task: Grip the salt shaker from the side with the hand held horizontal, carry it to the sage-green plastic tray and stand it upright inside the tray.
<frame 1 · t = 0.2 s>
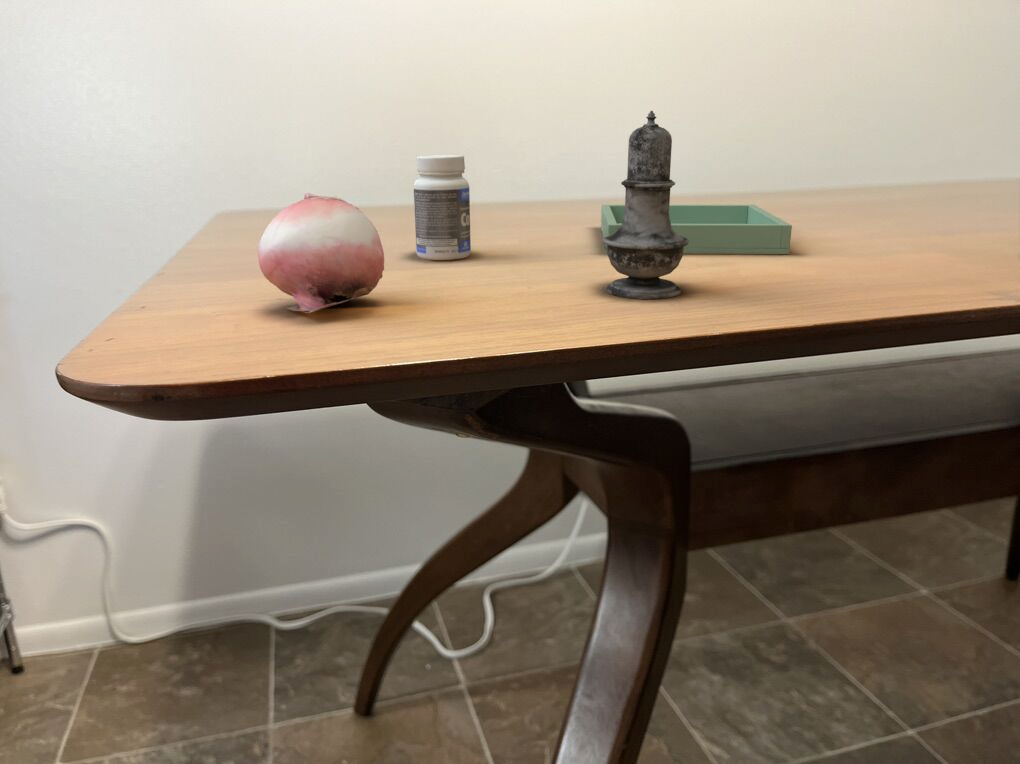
salt shaker: (642, 293, 57), on the table
onion: (326, 310, 53), on the table
pill bottle: (443, 258, 71), on the table
tray: (686, 240, 78), on the table
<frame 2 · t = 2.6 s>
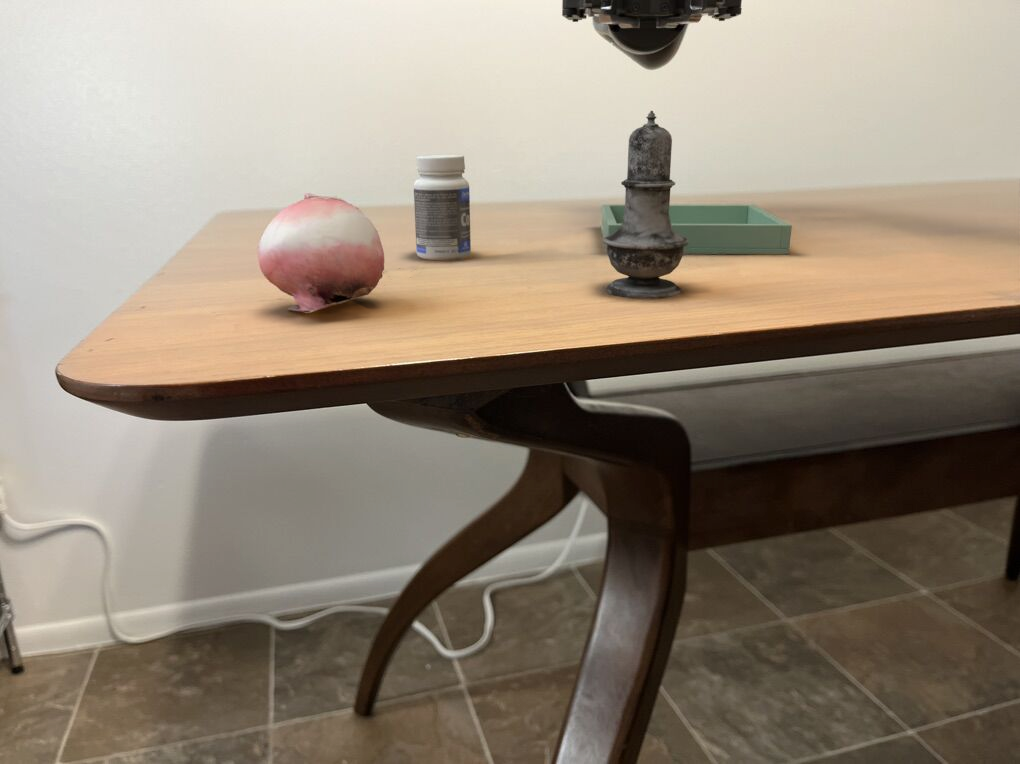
nothing on the table moved.
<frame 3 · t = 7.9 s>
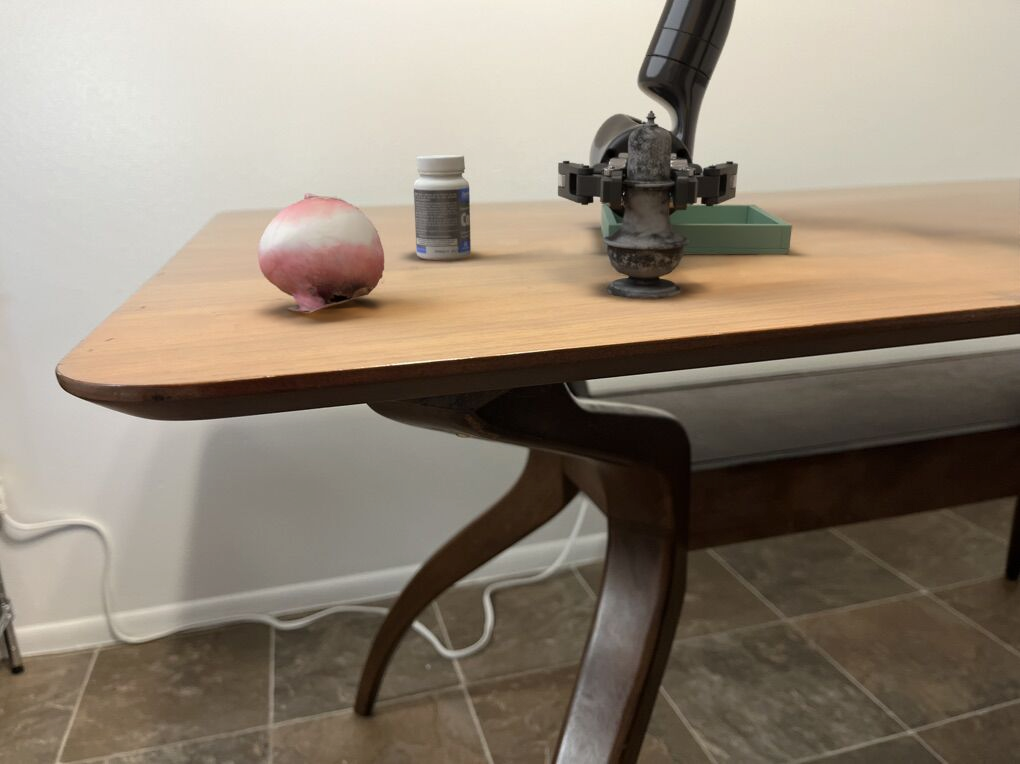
hand: (649, 193, 52), 7 cm above the table, tool horizontal, fingers closed on salt shaker, 3 cm apart
salt shaker: (643, 293, 57), on the table, touching gripper
everything else where it was.
when the fingers open (7 cm above the table, at t = 17.0 s): salt shaker stays where it is, resting on tray.
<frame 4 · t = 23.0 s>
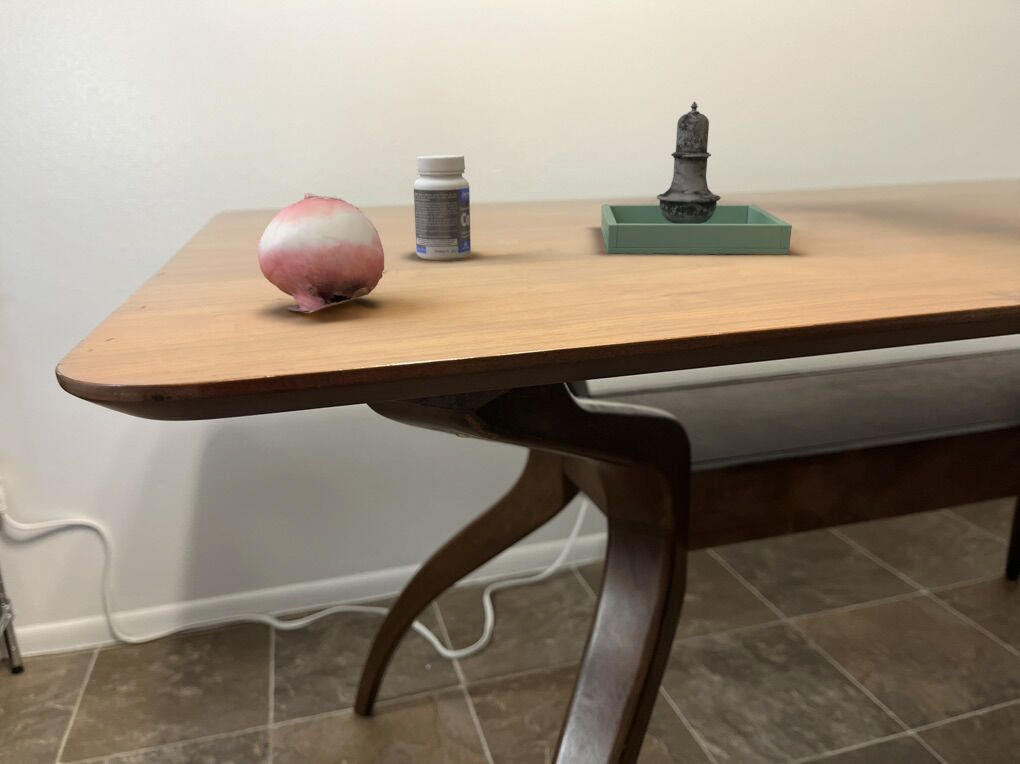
salt shaker: (685, 236, 78), resting on tray
everything else where it was.
at the end: salt shaker inside the target area in the tray (0.2 cm from its centre), point 0.3 cm above the tray's base; salt shaker tilted 0°; the gripper is holding nothing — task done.
